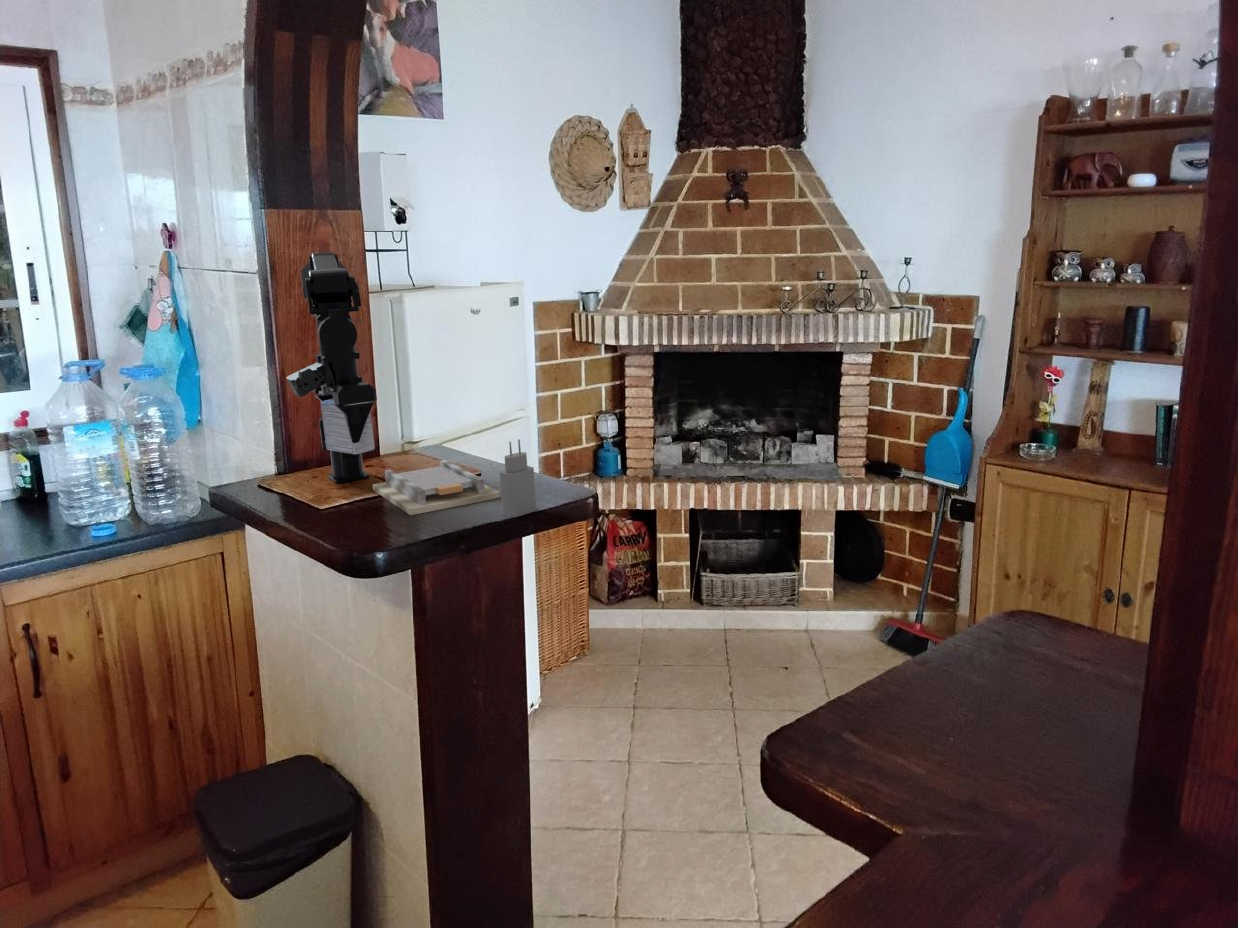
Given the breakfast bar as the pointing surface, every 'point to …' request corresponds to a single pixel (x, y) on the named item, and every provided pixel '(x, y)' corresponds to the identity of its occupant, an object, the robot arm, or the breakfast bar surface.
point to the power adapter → (517, 485)
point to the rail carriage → (438, 480)
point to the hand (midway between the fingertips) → (347, 438)
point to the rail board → (417, 502)
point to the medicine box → (344, 431)
